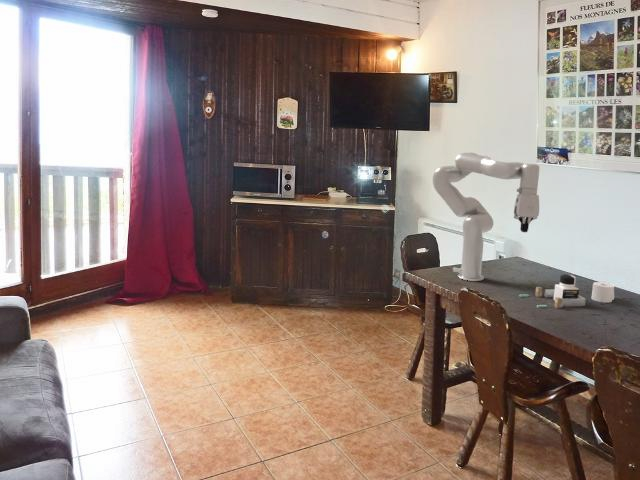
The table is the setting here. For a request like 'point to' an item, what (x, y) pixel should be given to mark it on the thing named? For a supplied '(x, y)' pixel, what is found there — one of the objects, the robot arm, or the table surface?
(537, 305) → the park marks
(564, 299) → the index socket
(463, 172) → the robot arm
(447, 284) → the table surface
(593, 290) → the toilet paper
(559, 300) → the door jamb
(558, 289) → the medicine bottle
